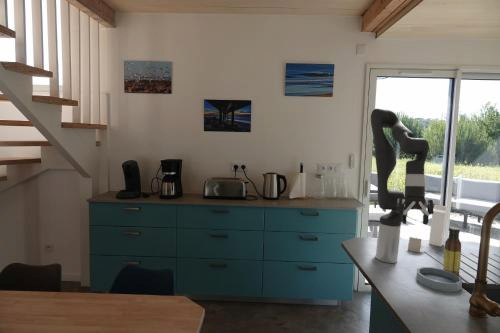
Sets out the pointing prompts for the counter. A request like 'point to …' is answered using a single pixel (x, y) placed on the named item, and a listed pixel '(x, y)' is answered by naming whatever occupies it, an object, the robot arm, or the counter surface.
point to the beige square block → (414, 244)
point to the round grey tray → (439, 279)
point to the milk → (438, 225)
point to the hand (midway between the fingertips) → (414, 224)
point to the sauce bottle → (452, 251)
